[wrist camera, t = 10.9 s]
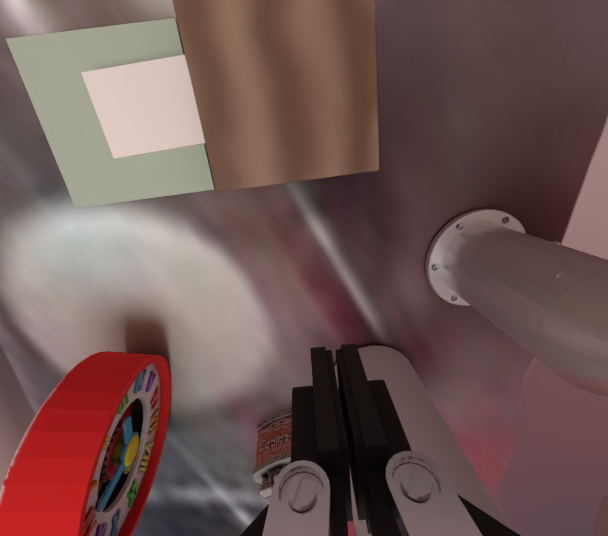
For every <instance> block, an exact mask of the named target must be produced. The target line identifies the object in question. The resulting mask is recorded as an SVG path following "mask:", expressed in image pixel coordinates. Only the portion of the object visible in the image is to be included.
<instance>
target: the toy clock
mask: <svg viewBox="0 0 608 536" xmlns="http://www.w3.org/2000/svg"><path fill="white" fill-rule="evenodd" d="M170 403H171V373H170V369H169V365H168V363H167V361H166V359H165V358H164V357H162V356H160V355H149V354H135V353H122V352H108V351H107V352H99V353H96V354H94V355H91V356H89V357H88V358H86V359H85V360H83V361H82V362H80V363H79V364H78V365H76V366H75V367H74V368H73V369H72V370H71V371H70V372H69V373H68V374H67V375H66V376H65V377H64V378H63V379H62V380H61V381H60V382H59V384H58V385H57V386H56V387H55V388H54V389H53V391H52V392H51V394H50V395H49V396H48V398H47V399H46V400H45V402H44V403H43V405H42V406H41V407H40V409H39V411H38V412H37V414H36V416H35V417H34V419H33V421H32V422H31V424H30V426H29V427H28V429H27V431H26V433H25V435H24V437H23V439H22V441H21V443H20V445H19V447H18V449H17V451H16V453H15V455H14V457H13V460H12V462H11V465H10V467H9V470H8V472H7V475H6V478H5V480H4V483H3V486H2V489H1V492H0V536H132V534H133V532H134V530H135V527H136V525H137V523H138V521H139V518H140V516H141V514H142V511H143V509H144V506H145V503H146V501H147V498H148V495H149V493H150V490H151V487H152V484H153V481H154V477H155V474H156V471H157V467H158V464H159V461H160V457H161V453H162V449H163V445H164V440H165V436H166V431H167V425H168V419H169V412H170Z"/></svg>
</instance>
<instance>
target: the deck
mask: <svg viewBox="0 0 608 536" xmlns="http://www.w3.org/2000/svg"><path fill="white" fill-rule="evenodd" d="M173 4H174V9H175V13H176V17H177V22H178V26H179V31H180V35H181V39H182V44H183V48H184V52H185V57H186V61H187V65H188V70H189V74H190V79H191V83H192V87H193V92H194V96H195V100H196V105H197V109H198V114H199V118H200V122H201V127H202V131H203V135H204V140H205V144H206V148H207V153H208V157H209V162H210V166H211V170H212V175H213V179H214V183H215V188H216V192H221V191H228V190H236V189H243V188H251V187H258V186H266V185H273V184H281V183H288V182H296V181H303V180H311V179H318V178H325V177H333V176H340V175H348V174H355V173H363V172H370V171H378V170H379V144H378V104H377V64H376V25H375V0H173Z"/></svg>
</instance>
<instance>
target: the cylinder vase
mask: <svg viewBox="0 0 608 536" xmlns="http://www.w3.org/2000/svg"><path fill="white" fill-rule="evenodd" d="M358 351H359V354H360V358H361V361H362V364H363V367H364V370H365V373H366V377H367V380H368V381H370V380H381V379H383V380H384V381H385V383H386V386H387V388H388V391H389V393H390V396H391V399H392V401H393V404H394V406H395V409H396V411H397V414H398V417H399V419H400V422H401V424H402V427H403V429H404V432H405V434H406V437H407V440H408V442H409V445H410V447H411V450H412V451H413V452H418V453H421V454H423V455H425V456H427V457H429V458H430V459H431V460H433V461H434V462H435V463H436V464H437V465H438V466H439V467H440V469H441V470H442V471H443V473H444V474H445V476H446V477H447V479H448V481H449V482H450V484H451V486H452V487H453V489H454V490H455V492H456V494H458V495H459V496H461V497H463V498H464V499H466V500H467V501H469V502H470V503H472V504H473V505H475V506H476V507H478V508H479V509H481V510H482V511H484V512H485V513H487V514H488V515H490V516H491V517H493V518H494V519H496V520H498V521H499V522H501V523H502V524H504V525H505V526H507V527H508V528H510V529H511V527H510V526H509V524H508V523H507V521H506V519H505V518H504V516H503V515H502V513H501V511H500V509H499V508H498V506H497V505H496V503H495V501H494V500H493V498H492V496H491V495H490V493H489V491H488V490H487V488H486V486H485V485H484V483H483V482H482V480H481V478H480V477H479V475H478V473H477V472H476V470H475V468H474V467H473V465H472V464H471V462H470V460H469V459H468V457H467V455H466V454H465V452H464V450H463V449H462V447H461V446H460V444H459V442H458V441H457V439H456V437H455V436H454V434H453V432H452V431H451V429H450V427H449V426H448V424H447V423H446V421H445V419H444V418H443V416H442V414H441V413H440V411H439V409H438V408H437V406H436V405H435V403H434V401H433V400H432V398H431V396H430V395H429V393H428V391H427V390H426V388H425V387H424V385H423V383H422V382H421V380H420V378H419V377H418V375H417V373H416V372H415V370H414V368H413V367H412V365H411V364H410V362H409V361H408V359H407V358H406V357H405V356H404V355H403V354H402V353H400V352H399V351H397V350H395V349H392V348H390V347H386V346H366V347H362V348H358ZM334 368H335V374H336V379H337V385H338V375H337V364H336V365H335V366H334ZM338 391H339V389H338ZM350 482H351V499H352V512H353V517H354V523H355V528H356V533H357V536H372V535H371V534H368V530H367V525H366V520H359V519H358V514H357V509H356V503H355V497H354V491H353V485H352V479H351V473H350ZM511 530H512V529H511Z"/></svg>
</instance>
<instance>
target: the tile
mask: <svg viewBox="0 0 608 536" xmlns="http://www.w3.org/2000/svg"><path fill="white" fill-rule="evenodd" d="M81 74H82V76H83V79H84V82H85V84H86V87H87V90H88V92H89V95H90V97H91V100H92V103H93V105H94V108H95V111H96V113H97V116H98V119H99V121H100V124H101V126H102V129H103V132H104V134H105V137H106V140H107V142H108V145H109V148H110V150H111V153H112V155H113V158H114V159H117V158H132V157H137V156H143V155H149V154H155V153H161V152H166V151H172V150H178V149H184V148H189V147H195V146H201V145H206V144H205V140H204V135H203V131H202V127H201V122H200V118H199V114H198V109H197V105H196V100H195V96H194V92H193V87H192V83H191V79H190V74H189V70H188V65H187V61H186V57H185V55H180V56H174V57H168V58H162V59H156V60H150V61H145V62H139V63H133V64H127V65H121V66H116V67H110V68H104V69H98V70H92V71H86V72H81Z"/></svg>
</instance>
